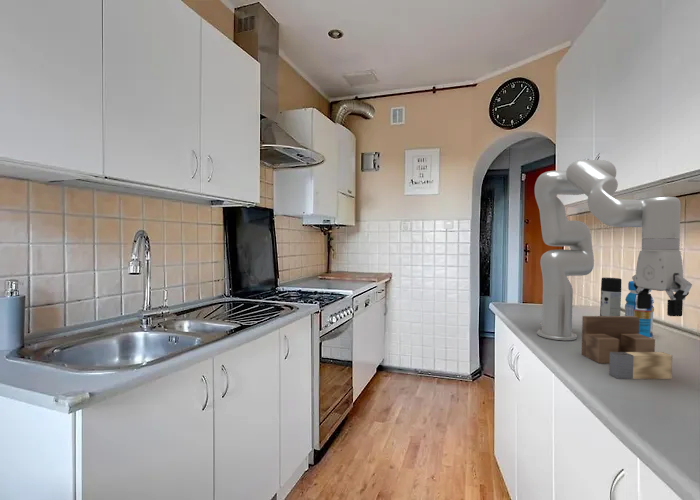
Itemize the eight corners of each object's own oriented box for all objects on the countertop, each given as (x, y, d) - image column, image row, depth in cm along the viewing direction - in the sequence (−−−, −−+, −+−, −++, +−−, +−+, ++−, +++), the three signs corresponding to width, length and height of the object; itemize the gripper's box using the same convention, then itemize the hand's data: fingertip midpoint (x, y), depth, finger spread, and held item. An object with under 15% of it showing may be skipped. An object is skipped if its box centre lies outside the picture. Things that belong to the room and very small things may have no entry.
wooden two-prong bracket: (581, 354, 115) (582, 316, 115) (633, 354, 116) (634, 316, 115) (598, 363, 107) (600, 322, 107) (654, 363, 108) (655, 322, 107)
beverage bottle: (618, 334, 139) (620, 281, 138) (634, 332, 142) (635, 280, 141) (642, 340, 131) (644, 283, 130) (658, 338, 134) (660, 282, 133)
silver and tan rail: (617, 378, 96) (618, 355, 96) (609, 374, 99) (609, 352, 99) (671, 378, 96) (672, 355, 96) (661, 374, 99) (662, 352, 99)
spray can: (600, 325, 153) (601, 276, 153) (620, 328, 149) (622, 278, 148) (598, 328, 148) (600, 278, 147) (619, 331, 144) (621, 279, 143)
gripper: (621, 245, 104) (620, 306, 105) (674, 246, 87) (672, 319, 88) (648, 245, 104) (647, 306, 105) (706, 246, 87) (704, 319, 87)
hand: (658, 312), depth 96 cm, fingers open, 9 cm apart
